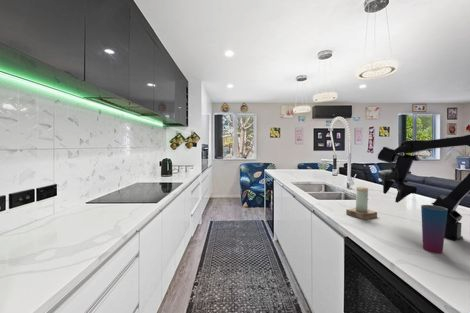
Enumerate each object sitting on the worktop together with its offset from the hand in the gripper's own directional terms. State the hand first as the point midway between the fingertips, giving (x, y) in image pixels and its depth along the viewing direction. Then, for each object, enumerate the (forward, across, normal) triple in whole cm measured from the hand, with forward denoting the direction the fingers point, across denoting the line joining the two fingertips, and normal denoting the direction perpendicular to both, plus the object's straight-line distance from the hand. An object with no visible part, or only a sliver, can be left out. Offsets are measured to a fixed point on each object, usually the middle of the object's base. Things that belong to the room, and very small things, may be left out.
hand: (390, 197), depth 104 cm
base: (+15, -6, -6) cm, 17 cm away
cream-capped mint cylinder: (+12, -7, -6) cm, 15 cm away
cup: (+5, +31, -3) cm, 32 cm away
